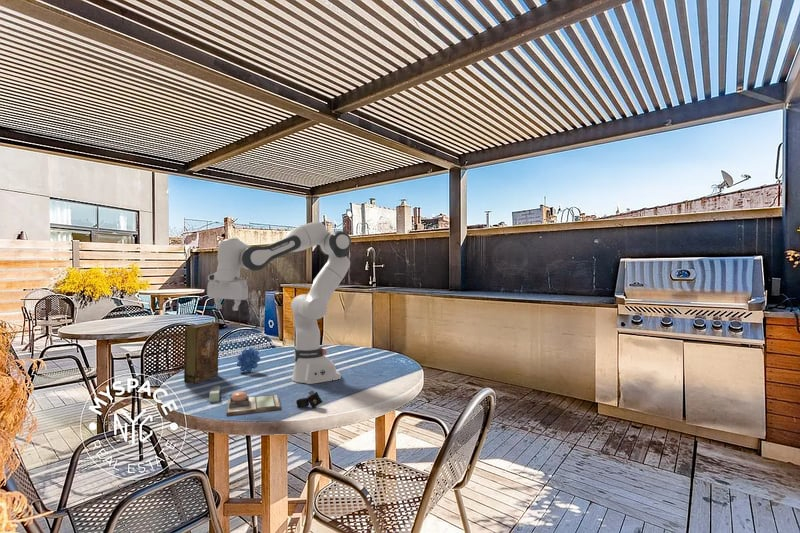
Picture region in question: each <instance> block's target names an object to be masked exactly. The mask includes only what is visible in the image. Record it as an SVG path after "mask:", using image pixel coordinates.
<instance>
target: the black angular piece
mask: <svg viewBox="0 0 800 533" xmlns="http://www.w3.org/2000/svg"><path fill="white" fill-rule="evenodd" d="M308 394H309V395H307V397H304V398H299V399H297V400H295V401H296V407H297V409H299V408H300V409H302V408H303V409H304V408H306V407H307V408H308V406H309V405H310V406H311V408H312V409H314V408H315V407H317V406H319V405H321V404H322V403H323V401H324V400H322V399H321V397H320V395H319V393H318V391H314V390H310V391H309V392H308Z"/></svg>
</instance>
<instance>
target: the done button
mask: <svg viewBox="0 0 800 533" xmlns="http://www.w3.org/2000/svg"><path fill="white" fill-rule="evenodd" d="M247 396H248V392H246V391H235V392H233V393H231V397H232V402H241V401H246V400H247Z"/></svg>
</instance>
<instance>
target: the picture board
mask: <svg viewBox="0 0 800 533" xmlns="http://www.w3.org/2000/svg"><path fill="white" fill-rule="evenodd" d="M281 408H282V406H281V403H280V399H279V396H278V394H274V393H273V394H262V395H255V396H249V395H248V394H247V400H246V401H241V402H232V396H230V397H229V399H228V400H227V406H226V416H237V415H245V414H252V413H254V414H255V413H261V412H270V411H279V410H281Z"/></svg>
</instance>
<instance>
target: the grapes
mask: <svg viewBox="0 0 800 533" xmlns="http://www.w3.org/2000/svg"><path fill="white" fill-rule="evenodd" d="M259 354H260V353H259V350H255V349H254V348H253V347H249V348H248V349H247V348H245V349H242V351H241V353H240V354H239V355H237V360H238V361H237V362H236V366H237V367H239V369H240V371H241V372H245V371H246V372H247V373H249V372H250V373H251V372H252V371H253V369H257V367H258V366H259V364H258V363H259V362H260V361H261V357H260V356H259Z"/></svg>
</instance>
